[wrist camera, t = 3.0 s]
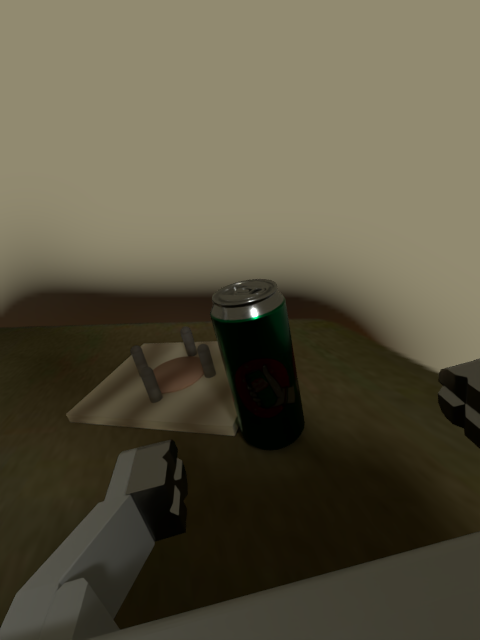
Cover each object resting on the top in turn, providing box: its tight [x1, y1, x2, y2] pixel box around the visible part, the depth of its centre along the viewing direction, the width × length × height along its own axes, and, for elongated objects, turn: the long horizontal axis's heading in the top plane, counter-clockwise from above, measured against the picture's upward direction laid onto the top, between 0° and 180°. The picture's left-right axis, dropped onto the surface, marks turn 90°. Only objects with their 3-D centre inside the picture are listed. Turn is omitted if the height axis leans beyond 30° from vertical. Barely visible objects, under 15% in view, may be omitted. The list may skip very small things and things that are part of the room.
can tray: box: [66, 327, 239, 436], centre depth 34 cm, size 18×14×5 cm
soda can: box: [210, 279, 305, 450], centre depth 23 cm, size 5×5×12 cm
